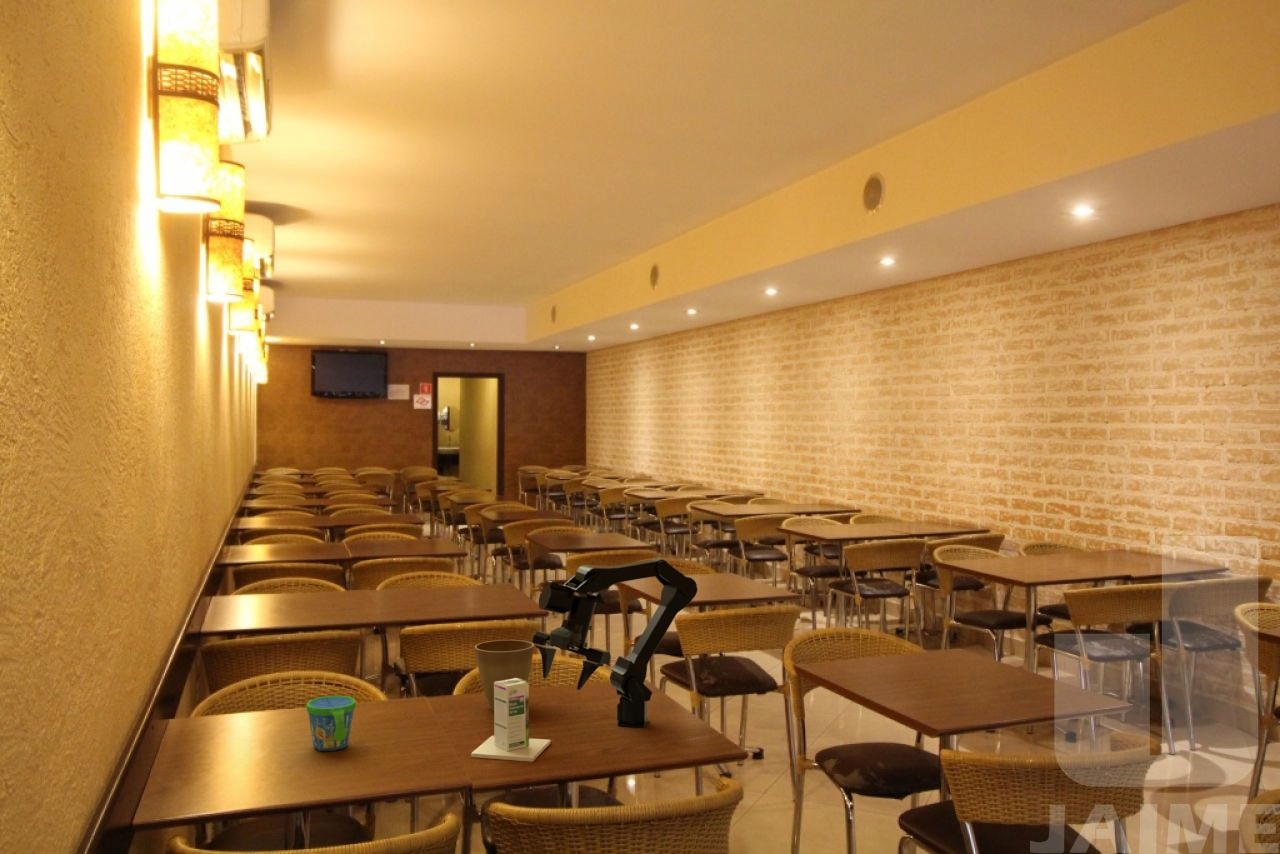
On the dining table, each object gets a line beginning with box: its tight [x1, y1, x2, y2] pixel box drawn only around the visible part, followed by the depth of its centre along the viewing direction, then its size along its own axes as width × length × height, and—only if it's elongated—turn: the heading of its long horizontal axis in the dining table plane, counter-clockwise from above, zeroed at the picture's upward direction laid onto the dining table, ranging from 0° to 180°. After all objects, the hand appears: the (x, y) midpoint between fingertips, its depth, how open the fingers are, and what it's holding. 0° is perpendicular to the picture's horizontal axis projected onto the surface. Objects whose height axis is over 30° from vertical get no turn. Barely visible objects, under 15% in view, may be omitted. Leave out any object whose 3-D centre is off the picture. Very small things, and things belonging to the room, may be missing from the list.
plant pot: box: [474, 639, 535, 711], centre depth 263 cm, size 15×15×16 cm
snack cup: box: [305, 695, 357, 752], centre depth 231 cm, size 16×10×10 cm
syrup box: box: [493, 678, 530, 751], centre depth 229 cm, size 6×6×14 cm
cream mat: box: [470, 735, 551, 763], centre depth 229 cm, size 14×13×1 cm
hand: (561, 684), depth 241 cm, fingers open, 9 cm apart
